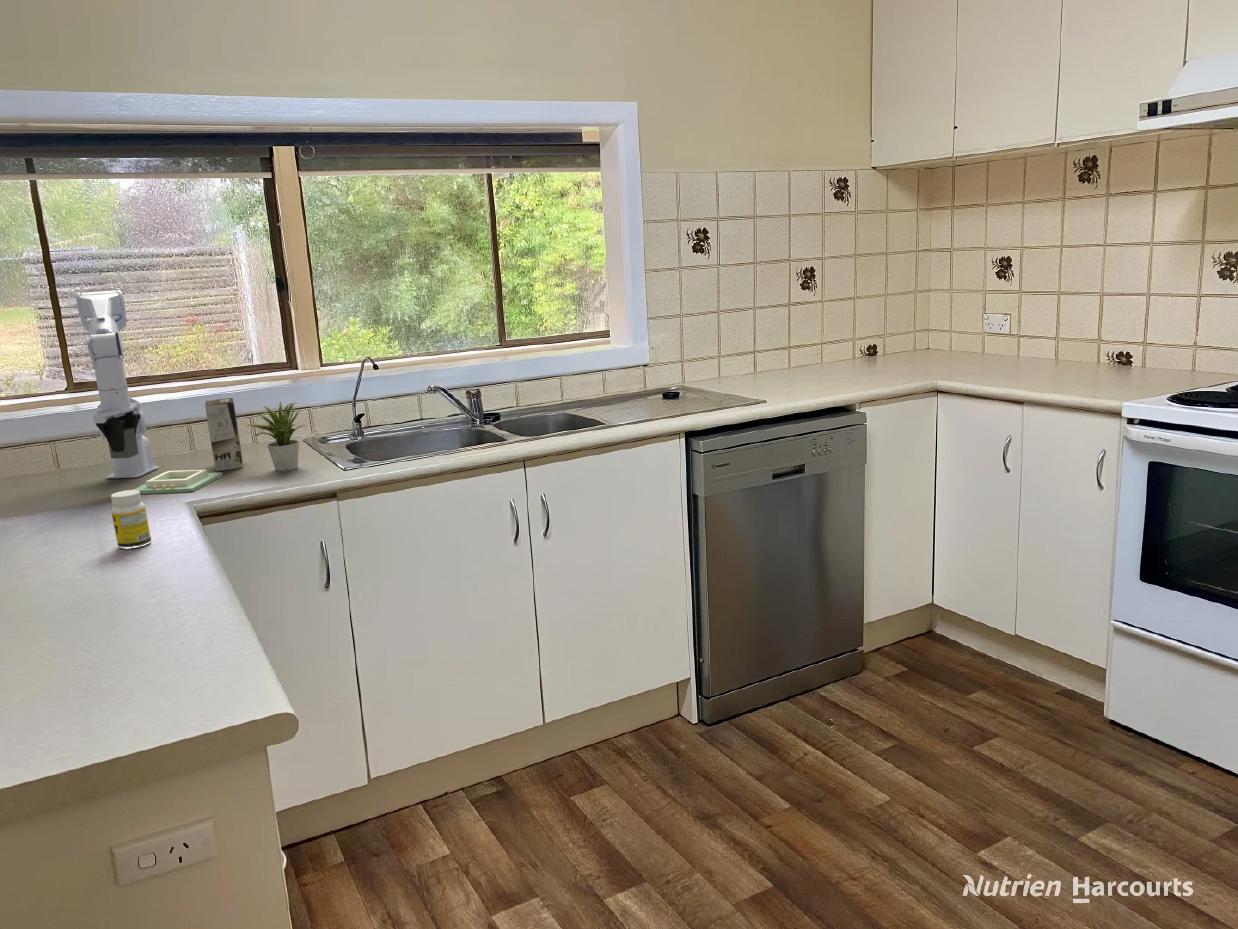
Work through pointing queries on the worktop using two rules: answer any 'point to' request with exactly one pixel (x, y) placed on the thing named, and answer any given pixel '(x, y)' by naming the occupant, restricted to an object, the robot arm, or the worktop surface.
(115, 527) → the supplement bottle
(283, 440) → the house plant
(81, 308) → the robot arm
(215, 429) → the coffee box
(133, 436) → the plug block
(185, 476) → the socket board
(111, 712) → the worktop surface
